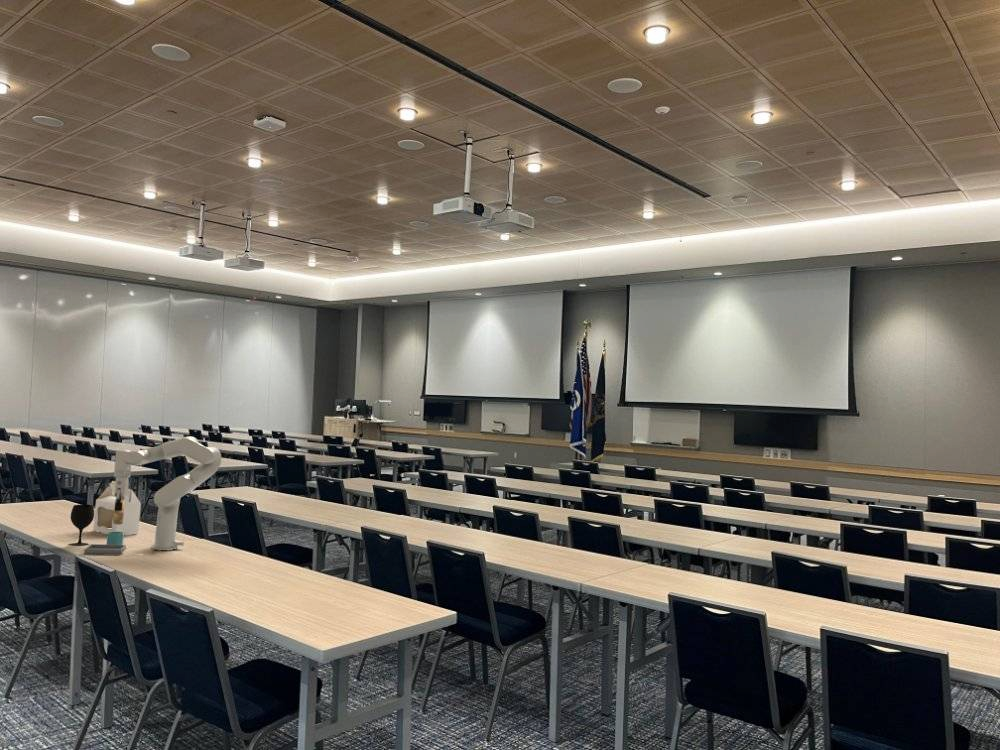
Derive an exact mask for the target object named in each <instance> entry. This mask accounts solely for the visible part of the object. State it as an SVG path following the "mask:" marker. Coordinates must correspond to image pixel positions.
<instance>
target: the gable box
mask: <svg viewBox="0 0 1000 750" xmlns="http://www.w3.org/2000/svg"><path fill="white" fill-rule="evenodd" d="M115 481H116V480H112V481H111V482H109V485H108V486H107V487H105V489H104V491H103V492H102V493H101V494H100V495H99V496H98V497H97V498H96V499H95V506H94V507H95V508H94V518H93V527H92V531H93V530H94V531H93V532H95V531H98V532H97V533H99V532H102V533H101V534H103V533H105V534H104V535H106V534H108V533H109V532H124V535H129V536H131V535H130V534H137V535H138V534H139V526H140V525H139V524H140V515H141V508H142V507H141V505H142V503H141V502H140V500H139V499H138V497H137V495H136V494H135V492H134V490H132V489H131V488H130V484H128V495H127V496H125V505H124V516H123V524H113V518H114V507H115V500H116V497H115V496H114V493H115ZM108 528H112V529H108Z"/></svg>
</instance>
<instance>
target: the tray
mask: <svg viewBox="0 0 1000 750" xmlns="http://www.w3.org/2000/svg"><path fill="white" fill-rule="evenodd" d="M126 549H127V545H126V544H123V545H106V544H99V543H98V544H95V543H93V544H91V543H90V544H89V545H87V546H86V547H85V548H84V552H83V555H95V556H97V555H104V554H121V555H123V553H124V552H125V550H126Z"/></svg>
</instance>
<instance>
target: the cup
mask: <svg viewBox="0 0 1000 750" xmlns="http://www.w3.org/2000/svg"><path fill="white" fill-rule="evenodd" d="M106 536H107V537H106V544H105V545H124V540H125V536H124V532H109V533H108V534H107V535H106Z"/></svg>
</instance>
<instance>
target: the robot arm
mask: <svg viewBox="0 0 1000 750" xmlns="http://www.w3.org/2000/svg"><path fill="white" fill-rule="evenodd" d="M180 456H186V457H189V458H190V459H192V460H194V461H195V462H198V463H199V464H198V465H197V466H195V467H194V468H193V469H192V470H190V471H188V472H187V473H185V474H183V475H179V476H177V477H176V478H174V479H173V480H171V481H170V482H168V483H167V484H166V485H164V486H163V487H161V488H160V489H158V490H157V491H156V492H155V493H154V496H153V502H154V504H155V505H156V506H157V507H158V510H157V515H156V516H157V519H156V526H155V535H154V544H153V545H150V548H151V549H152V550H154V551H161V550H167V551H174V550H173V549H175V550H177V549H178V546H180V547H181V546H184V545H185V542H184V541H177V538H176V533H177V524H178V517H179V516H178V514H179V507H180V503H181V498H182V497H184V496H186V495H187V494H190V493H192V492H193V491H194V490H195V489H196V488H198V487H199V486H200V485H202V484H203V483H204V482H205V481H207V480H208V479H209V478H210V477H212V476H213V475H214V474H215V473H216V472H218V469H219V468H220V466H221V464H222V453H221V451H220V449H218V447H215V446H205V445H203V444H201V443H199V440H198V439H197V438H196V437H194V436H191V435H190V436H183V437H182V438H178V439H173V440H170V441H166V442H163V443H161V444H159V445H156V446H153V447H149V448H145V449H139V450H130V449H118V450H117V451H116V452H115V461H114V471H113V477H114V478H115V480H114V481H115V493H114V496H115V497H116V503H115V511H121V510H122V500H125V496H127V495H128V484H129V483H130V482H129V481H130V480H129V478H131V472H132V466H142V465H146V464H149V463H153V462H156V461H162V460H168V459H172V458H176V457H180ZM129 485H130V484H129ZM176 548H177V549H176Z"/></svg>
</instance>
